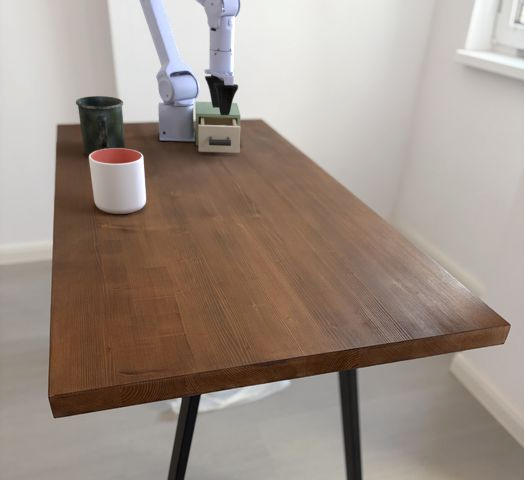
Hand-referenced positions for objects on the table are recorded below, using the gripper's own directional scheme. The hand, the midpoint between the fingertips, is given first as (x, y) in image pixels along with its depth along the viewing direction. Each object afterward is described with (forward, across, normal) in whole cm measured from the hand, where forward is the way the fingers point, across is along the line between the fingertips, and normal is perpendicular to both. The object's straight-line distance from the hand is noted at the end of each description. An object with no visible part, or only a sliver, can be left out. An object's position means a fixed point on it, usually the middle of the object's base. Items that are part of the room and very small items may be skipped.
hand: (220, 110), depth 137 cm
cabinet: (+10, -11, +2) cm, 15 cm away
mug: (+10, 0, -29) cm, 31 cm away
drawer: (+9, 0, 0) cm, 9 cm away
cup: (+10, +33, -29) cm, 45 cm away
